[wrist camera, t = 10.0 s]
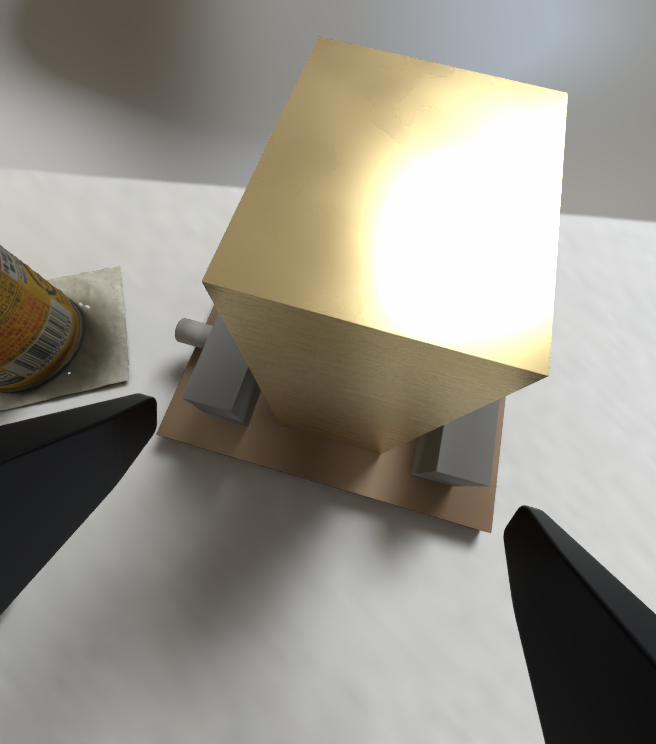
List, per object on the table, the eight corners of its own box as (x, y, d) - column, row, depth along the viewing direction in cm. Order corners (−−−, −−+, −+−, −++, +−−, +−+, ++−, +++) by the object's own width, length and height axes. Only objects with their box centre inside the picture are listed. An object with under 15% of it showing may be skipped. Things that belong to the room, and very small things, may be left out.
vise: (502, 345, 19) (556, 304, 15) (480, 530, 16) (541, 546, 12) (228, 272, 20) (205, 214, 16) (155, 434, 17) (102, 416, 12)
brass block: (380, 454, 16) (548, 375, 5) (280, 425, 16) (201, 281, 5) (405, 343, 18) (567, 93, 6) (315, 318, 18) (319, 36, 7)
